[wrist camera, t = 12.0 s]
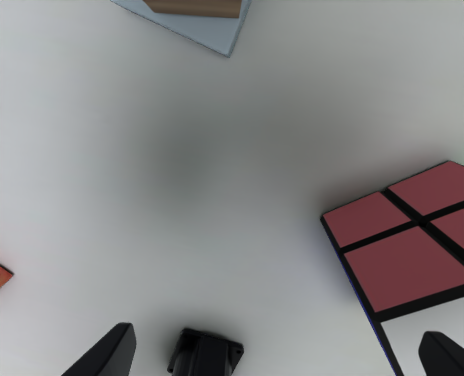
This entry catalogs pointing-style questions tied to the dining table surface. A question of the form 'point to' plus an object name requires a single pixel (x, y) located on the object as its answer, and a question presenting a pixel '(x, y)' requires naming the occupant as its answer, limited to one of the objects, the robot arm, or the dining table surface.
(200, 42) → the slab
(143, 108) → the dining table surface
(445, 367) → the robot arm
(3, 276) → the cracker box
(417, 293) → the puzzle cube
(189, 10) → the pillar
